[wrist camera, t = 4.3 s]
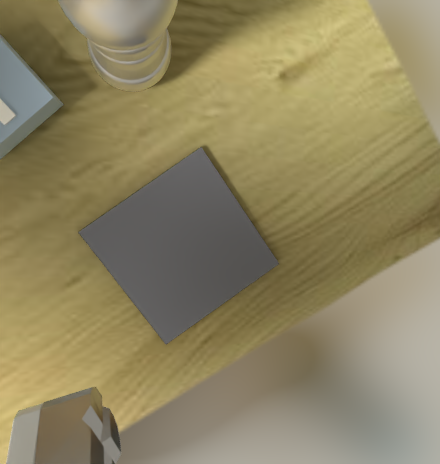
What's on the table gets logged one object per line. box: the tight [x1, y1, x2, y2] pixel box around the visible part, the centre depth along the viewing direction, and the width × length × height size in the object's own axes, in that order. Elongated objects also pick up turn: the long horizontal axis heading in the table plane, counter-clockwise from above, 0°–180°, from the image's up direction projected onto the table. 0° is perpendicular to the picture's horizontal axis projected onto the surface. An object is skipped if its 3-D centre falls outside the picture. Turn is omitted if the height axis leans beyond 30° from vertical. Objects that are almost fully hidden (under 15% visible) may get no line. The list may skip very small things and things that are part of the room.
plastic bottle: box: [58, 0, 178, 92], centre depth 26 cm, size 6×7×20 cm
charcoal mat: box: [78, 147, 279, 344], centre depth 38 cm, size 13×13×1 cm
